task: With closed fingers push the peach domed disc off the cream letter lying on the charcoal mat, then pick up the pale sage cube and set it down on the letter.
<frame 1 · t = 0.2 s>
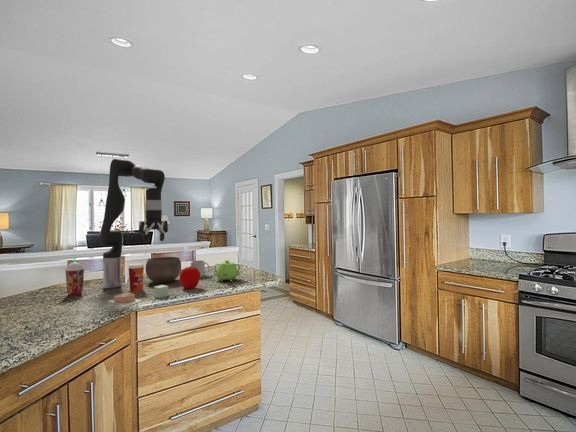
hand: (153, 241, 156), 29 cm above the worktop, fingers open, 8 cm apart
teapot: (226, 280, 199), on the worktop
tomato: (190, 289, 177), on the worktop
peach domed disc: (124, 300, 151), point 1 cm above the worktop, touching mat
mug: (199, 276, 213), on the worktop
coffee cup: (136, 291, 171), on the worktop
mat: (135, 300, 155), on the worktop
smoothie: (75, 294, 166), on the worktop
bowl: (163, 282, 196), on the worktop
cube: (161, 296, 159), point 1 cm above the worktop, touching mat
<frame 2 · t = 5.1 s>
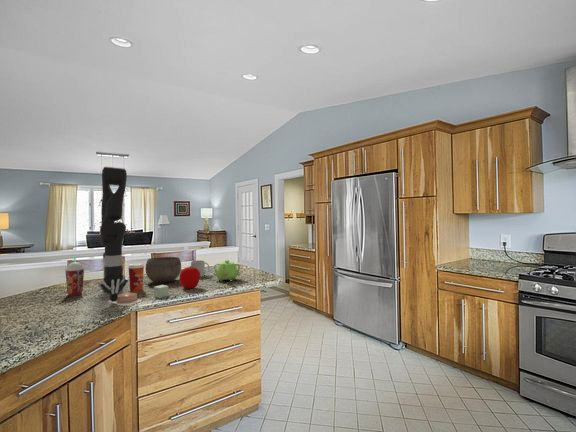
hand: (113, 301, 147), 2 cm above the worktop, fingers closed
peach domed disc: (126, 300, 152), point 1 cm above the worktop, touching gripper
everything else where it was.
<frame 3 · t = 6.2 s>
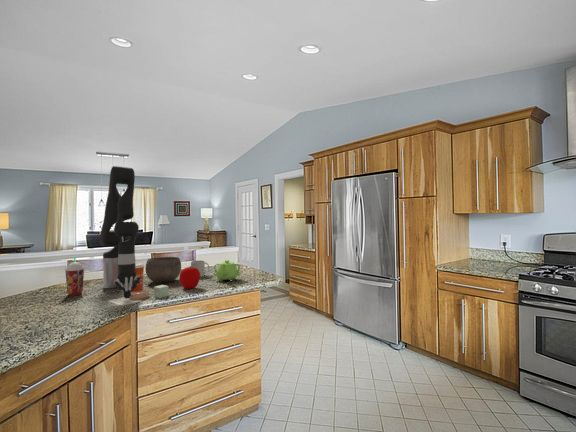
hand: (127, 298, 152), 2 cm above the worktop, fingers closed
peach domed disc: (139, 297, 157), point 1 cm above the worktop, touching gripper
everything else where it was.
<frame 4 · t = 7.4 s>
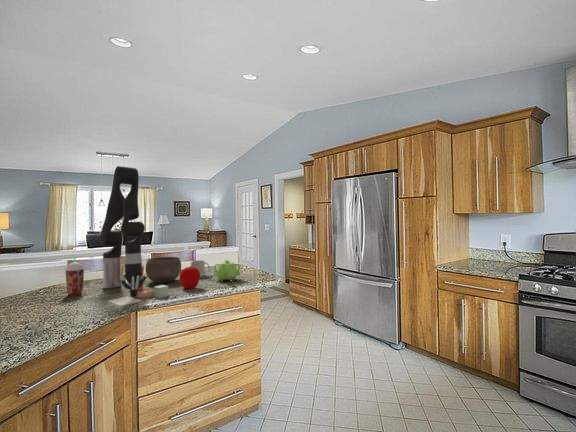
hand: (133, 296, 155), 2 cm above the worktop, fingers closed
peach domed disc: (145, 296, 160), point 1 cm above the worktop, touching mat
everything else where it was.
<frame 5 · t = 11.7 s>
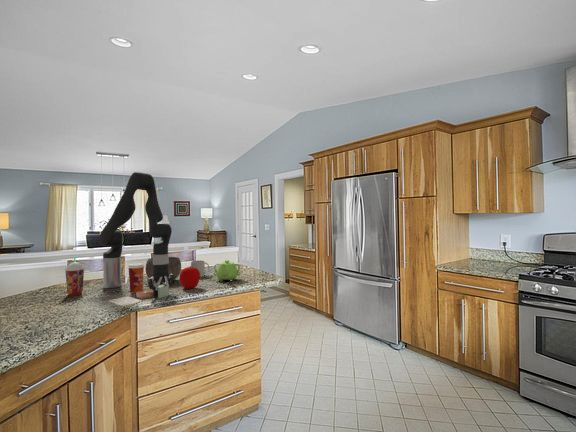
hand: (161, 295, 159), 1 cm above the worktop, fingers closed on cube, 5 cm apart
cube: (161, 296, 159), point 1 cm above the worktop, touching gripper, mat
everything else where it was.
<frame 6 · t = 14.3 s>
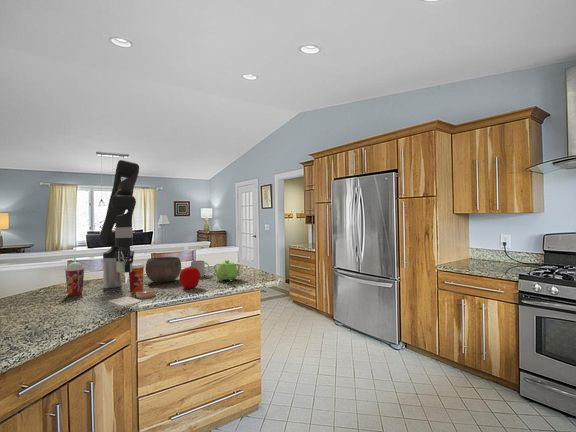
hand: (124, 271, 151), 15 cm above the worktop, fingers closed on cube, 5 cm apart
cube: (124, 271, 151), point 15 cm above the worktop, touching gripper
everything else where it was.
when the fingers open (2 cm above the worktop, at t = 17.0 s): cube drops 1 cm, resting on mat.
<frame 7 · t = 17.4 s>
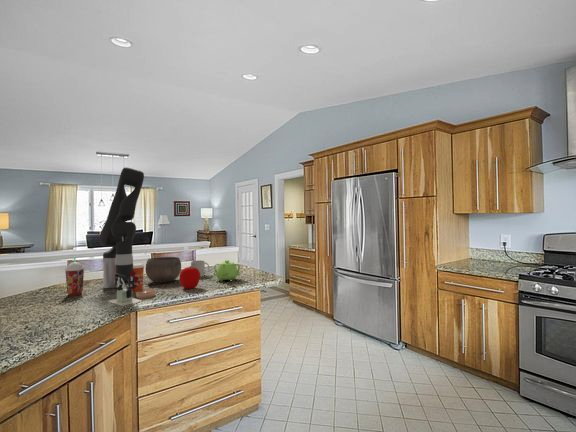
hand: (124, 296, 151), 3 cm above the worktop, fingers open, 8 cm apart
cube: (124, 300, 151), point 1 cm above the worktop, touching mat
everything else where it was.
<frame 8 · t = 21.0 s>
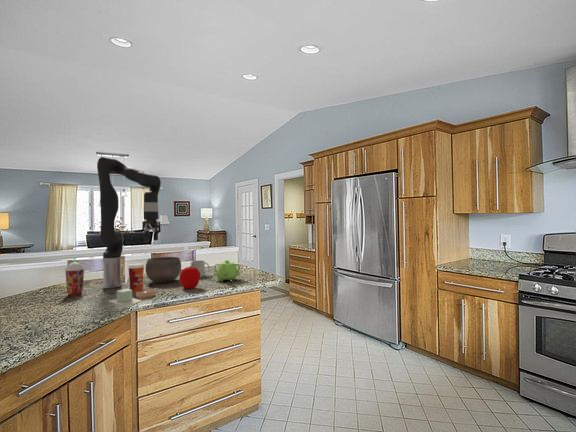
hand: (151, 240, 173), 28 cm above the worktop, fingers open, 8 cm apart
nothing on the worktop moved.
at the end: cube inside the target area (0.0 cm from its centre), point 0.7 cm above the worktop; peach domed disc inside the target area (12.8 cm from its centre), point 0.6 cm above the worktop; cube tilted 0° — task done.
